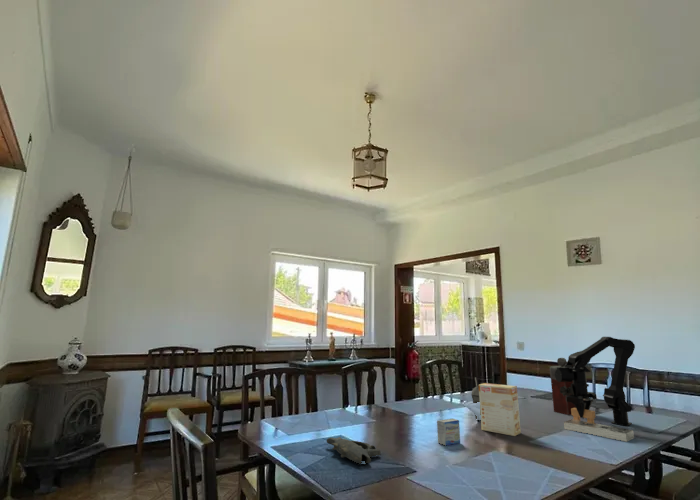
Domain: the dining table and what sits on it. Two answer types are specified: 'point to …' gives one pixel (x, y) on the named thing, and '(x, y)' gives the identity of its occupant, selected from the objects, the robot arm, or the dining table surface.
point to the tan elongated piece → (354, 449)
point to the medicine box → (448, 431)
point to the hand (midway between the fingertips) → (583, 416)
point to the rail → (599, 430)
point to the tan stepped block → (587, 414)
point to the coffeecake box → (499, 409)
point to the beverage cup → (475, 395)
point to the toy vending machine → (558, 398)
